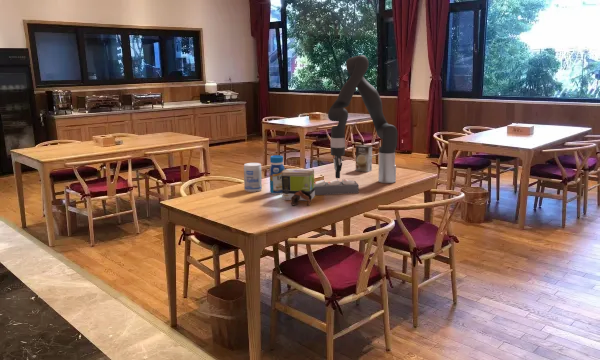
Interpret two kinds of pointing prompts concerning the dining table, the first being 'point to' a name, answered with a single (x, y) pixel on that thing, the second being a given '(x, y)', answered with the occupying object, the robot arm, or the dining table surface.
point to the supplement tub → (252, 177)
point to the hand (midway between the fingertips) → (337, 178)
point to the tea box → (297, 182)
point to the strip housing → (337, 189)
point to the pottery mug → (303, 195)
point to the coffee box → (363, 158)
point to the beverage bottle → (276, 174)
